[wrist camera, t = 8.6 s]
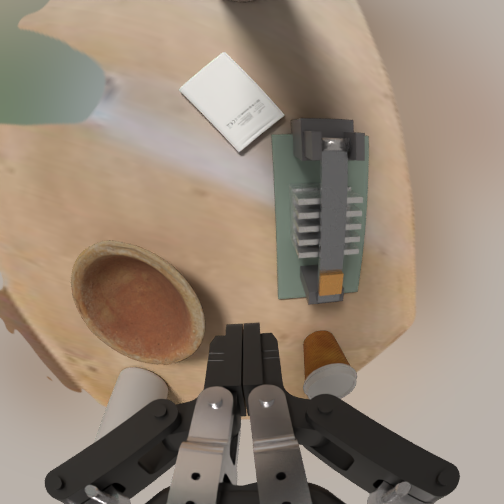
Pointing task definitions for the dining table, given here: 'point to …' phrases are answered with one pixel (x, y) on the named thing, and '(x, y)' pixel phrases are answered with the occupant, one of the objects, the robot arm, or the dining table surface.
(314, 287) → the post
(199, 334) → the bowl
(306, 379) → the disposable coffee cup
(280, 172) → the board
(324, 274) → the strap
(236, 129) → the external hard drive
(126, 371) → the cylinder vase
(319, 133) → the hinge post
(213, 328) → the dining table surface
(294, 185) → the heatsink
